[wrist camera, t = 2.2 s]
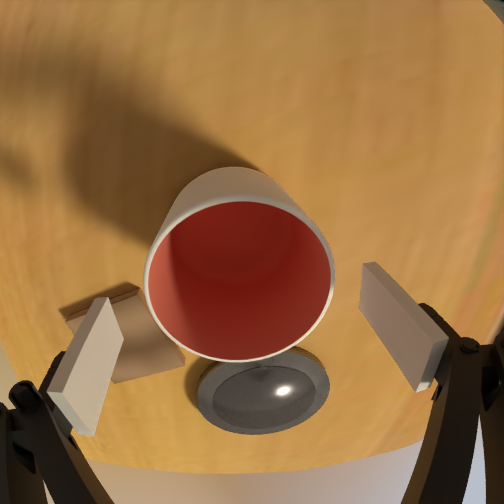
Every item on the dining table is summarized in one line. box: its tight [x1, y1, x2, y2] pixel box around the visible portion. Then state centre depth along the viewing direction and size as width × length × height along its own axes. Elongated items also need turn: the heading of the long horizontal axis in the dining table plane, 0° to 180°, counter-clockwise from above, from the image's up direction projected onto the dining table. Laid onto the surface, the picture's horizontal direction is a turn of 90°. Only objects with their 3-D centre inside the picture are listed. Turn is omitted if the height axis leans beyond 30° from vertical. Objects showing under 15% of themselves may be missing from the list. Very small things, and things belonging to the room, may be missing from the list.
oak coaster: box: [65, 288, 185, 384], centre depth 27 cm, size 9×9×1 cm
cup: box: [143, 167, 335, 362], centre depth 20 cm, size 10×10×10 cm
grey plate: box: [197, 346, 330, 435], centre depth 32 cm, size 15×15×2 cm
